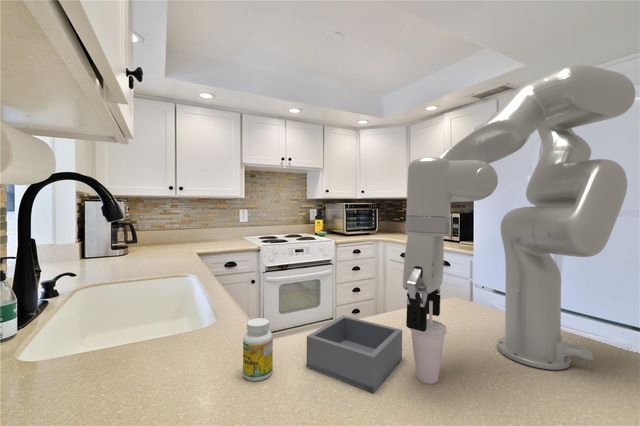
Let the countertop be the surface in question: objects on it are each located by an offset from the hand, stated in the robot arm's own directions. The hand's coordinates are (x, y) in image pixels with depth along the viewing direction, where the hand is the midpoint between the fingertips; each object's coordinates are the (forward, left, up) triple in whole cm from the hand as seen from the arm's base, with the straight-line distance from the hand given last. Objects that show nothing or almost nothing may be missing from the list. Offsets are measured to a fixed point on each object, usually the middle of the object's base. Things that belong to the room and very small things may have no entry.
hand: (424, 321), depth 52 cm
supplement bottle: (+26, +16, -11) cm, 32 cm away
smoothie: (0, -1, -11) cm, 11 cm away
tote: (+13, +2, -10) cm, 17 cm away
